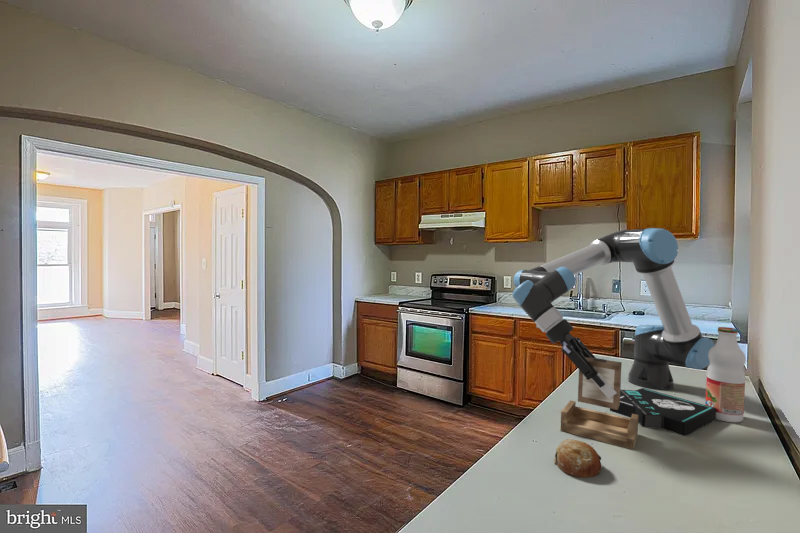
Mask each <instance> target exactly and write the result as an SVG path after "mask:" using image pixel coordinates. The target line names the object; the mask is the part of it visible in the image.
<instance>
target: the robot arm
mask: <svg viewBox="0 0 800 533" xmlns="http://www.w3.org/2000/svg"><path fill="white" fill-rule="evenodd" d="M678 249H679V244H678V241H677V239H676V237H675V236H674V234H673V233H672V232H671V231H669V230H667V229H664V228H657V227H649V228H648V227H647V228H637V229H621V230H618V231H615V232H612V233H609V234H607V235H605V236H603V237H600V238H597V239H595V240H593V241H591V242H590V244H589V245H587V246H586V247H582V248H581V249H578V250H575V251H573V252H571V253H568V254H566V255H564V256H561V257H558V258H556V259H553V260H551V261H548V262H546V263H544V264H541V265H538V266H536V267H534V268H531V269H521V270H518V271H517V272H516V273H515V274H514V276H513V285H514V287H515V289H514V290H513V292H512V298H513V299H514V301H515V302H516V303H517V305H518V306H519V307H520V308H521V309H522V310H523V311H524V313H526V315H527V316H528V317H529V318H530V319H531V320H532V321H533V322H534V324H536V326H535V327H536V328H537V329H539V330H540V331H541V332H542V333H545V336H546V338H547V339H548V340H549V341H550V342H551V343H552V344H556V343H560V345H561V346H562V347H561V349H560V350H561V352H562V353H563V354H564V355H566V357H567V358H568V359H569V360H570V361H571V362H572V363H573V364H574V365H575V367H577V369H578V371H579V370H580V371H581V372H582V373H583V375H584V376H585V377H586V379H587V380H589V379H590V378H591V380H592V381H593V382H594V383H595V384H596V385H597V386H598V388H599V389H600V390H601V391H602V392H603V393H604V394H605V395H606V397H607V398H608V399H609V398H610V397H612V396H613V395H615V394H616V393H617V392H616V391H615V390H614V389H613V388H612V386H611V385H610V384H609V383H608V382H607V381H606V380H605V379H604V377H603V376H602V375H601V374H600V373H597V371H596V370H595V369H594V368H593V366H592V365H591V364H590V363H589V361H588V360H587V359H586V358H585V357H589V358H597V357H596V356H595V355H594V354H593V353H592V351H591V350H589V349H588V347H586V345H585V344H584V343H583V342H582V340H581V339H580V337H575V336H573V335H572V334H571V333H570V332H572V331H573V330H574V327H573V325H572V324H571V323H570V322H569V321H568V320H567V319H564V315H562V313H560V311H559V310H558V308H556V307H555V306H554V305H553V302H555V300H558V299H559V298H561V297H562V296H563V295H565V294H566V293H568V292H569V291H570V290H571V289H573V288H574V287H575V286H576V285H577V279H576V275H578V274H579V273H582V272H584V271H587V270H589V269H591V268H594V267H596V266H599V265H600V266H606V265H608V264H612V263H632V264H633V266H634V268H635V271H636V273H637V274H640V275H643V277H644V281H645V282H646V285H647V288H648V290H649V293H650V296H651V299H652V300H653V301H652V302H653V304H654V306H655V308H656V312H657V314H658V317H659V319H660V322H661V324H639V325H637V326H636V327H635V331H634V336H633V337H634V345H633V346H634V347H633V348H634V350H633V352H634V353H633V356H634V358H633V364H632V366H631V368H630V371H629V372H628V375H627V376H628V379H627V380H628V382H630V383H631V384H633V385H636V386H639V387H642V388H646V389H654V390H672V389H674V383H675V382H674V378H673V376H672V375H673V374H672V372H671V370H670V366H669V365H670V363H671V364H675V365H678V366H682V367H686V368H687V369H694V370H702V369H705V368H706V367H708V366H709V364H710V361H709V358H708V352H709V350H710V349H711V348H712V347H713V346H714V345H715V343H714V341H713V340H712V339H711V338H709V337H707V336H703V335H702V332H701V329H700V328H699V326H697V325H696V324H693V323H692V319H691V318H690V315H689V312H688V311H689V310H687V307H686V304H685V300H684V298H683V295H682V293H681V289H680V288H679V287H680V286H679V284H678V282H677V279H676V276H675V274H674V271H673V269H672V268H673V265H674V264H675V259H677V258H676V257H677V256H678V254H679V252H678Z"/></svg>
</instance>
